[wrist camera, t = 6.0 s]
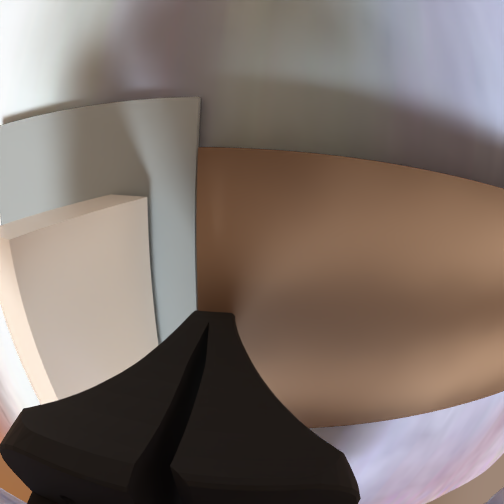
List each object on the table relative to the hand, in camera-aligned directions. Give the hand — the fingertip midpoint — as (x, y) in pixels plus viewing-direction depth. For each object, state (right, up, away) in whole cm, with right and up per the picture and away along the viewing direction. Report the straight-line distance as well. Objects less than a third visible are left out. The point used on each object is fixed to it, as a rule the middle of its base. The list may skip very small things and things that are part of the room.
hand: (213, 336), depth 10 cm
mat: (-7, +2, +3) cm, 8 cm away
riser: (+9, +1, +4) cm, 10 cm away
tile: (-4, 0, 0) cm, 4 cm away
